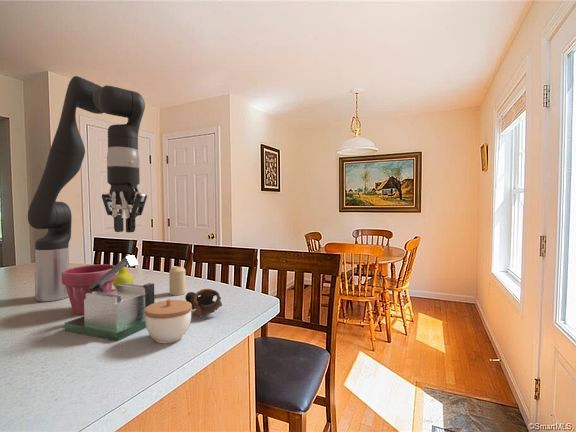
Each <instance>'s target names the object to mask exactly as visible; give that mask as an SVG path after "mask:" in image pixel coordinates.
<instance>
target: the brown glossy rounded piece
mask: <svg viewBox="0 0 576 432" xmlns="http://www.w3.org/2000/svg"><path fill="white" fill-rule="evenodd" d="M185 294H186V295H185V301H188V302H190V303H191V304H192V309H191V311H194V310H195V312H194V317H195V318H196V319H201V318H202V317H203V316H206V315H210V314H212V313H215V311H217V310H218V309H219V308H220V307H222V306H223V304H222V301H221V300H222V297H221V296H220V293H219V292H218V291H217V290H215V289H211V288H203V289H200V290H198V291H197V292H193V291H190V292H187V293H185ZM214 297H216V300H213V299H214Z"/></svg>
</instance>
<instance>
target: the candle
mask: <svg viewBox="0 0 576 432" xmlns="http://www.w3.org/2000/svg"><path fill="white" fill-rule="evenodd" d="M168 273H169V279H168V280H169V295H170V296H182V295H185V294H186V292H187V291H186V284H187V283H186V280H187V279H186V268H185V267H183V266H182V265H181V266H177V265H176V266H175V265H174V266H172V267H171V268H170V270H169V272H168Z"/></svg>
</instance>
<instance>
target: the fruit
mask: <svg viewBox="0 0 576 432" xmlns="http://www.w3.org/2000/svg"><path fill="white" fill-rule="evenodd" d="M122 283H128V284H134V276H133V275H132V274H131V273H130V272H128V268H127V267H126V266H125V267H123V268H122V269H121V270H120V271H119V272H117V273H116V278H115V279H114V280H113V284H112V287H114V288H115V289H116V290H117V285H122Z"/></svg>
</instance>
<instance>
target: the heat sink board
mask: <svg viewBox="0 0 576 432" xmlns="http://www.w3.org/2000/svg"><path fill="white" fill-rule="evenodd" d="M153 303H155V283H151V282H149V283H145V284H135V283H133V284H128V283H122V285H117V289H116V290H111V292H107V293H104V292H103V288H96V289H92V290H89V291H88V293H86V299H84V314H83V316H80V317H78V318H74V319H71V320H69V321H66V322H64V331H66V332H71V333H74V334H81V335H85V336H91V337H95V338H99V339H105V340H109V341H115V342H119V341H121V340H123V339H125V338H127V337H129V336H131V335H134V334H136V333H138V332H140V331H142V330H144V329H147V327H146V322H145V308H146V307H147V306H149V305H151V304H153Z"/></svg>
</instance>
